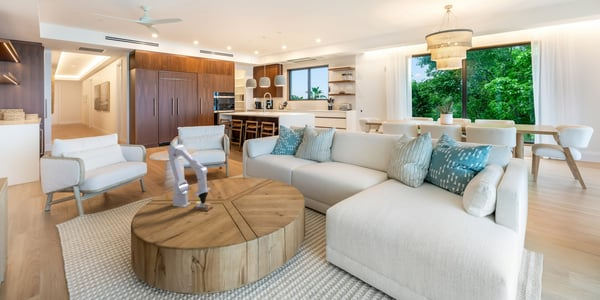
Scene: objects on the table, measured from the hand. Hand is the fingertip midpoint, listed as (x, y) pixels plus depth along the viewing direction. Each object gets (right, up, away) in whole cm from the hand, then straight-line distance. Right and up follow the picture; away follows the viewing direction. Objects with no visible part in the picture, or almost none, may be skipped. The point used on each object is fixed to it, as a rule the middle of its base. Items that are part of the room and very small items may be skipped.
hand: (203, 203), depth 206 cm
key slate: (0, -3, +1) cm, 3 cm away
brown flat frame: (0, -4, +1) cm, 4 cm away
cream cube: (-4, -3, +2) cm, 5 cm away
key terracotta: (+3, -3, -1) cm, 5 cm away
